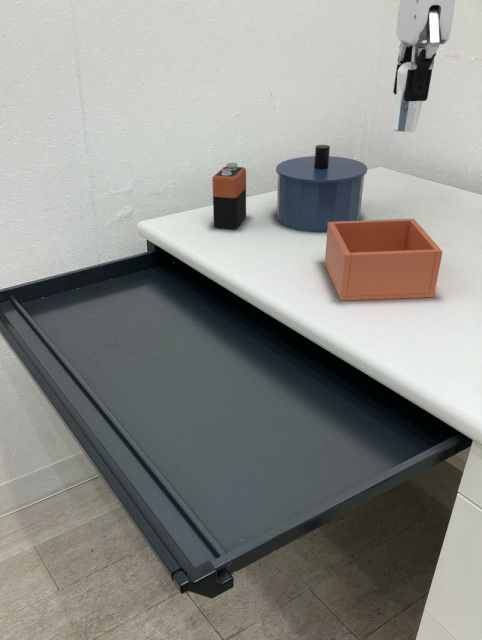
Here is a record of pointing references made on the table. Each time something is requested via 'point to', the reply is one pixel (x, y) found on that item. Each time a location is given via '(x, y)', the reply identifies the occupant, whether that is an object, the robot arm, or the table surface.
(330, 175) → the pot lid
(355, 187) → the pot
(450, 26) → the robot arm
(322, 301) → the table surface
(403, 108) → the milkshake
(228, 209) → the battery
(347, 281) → the bin
